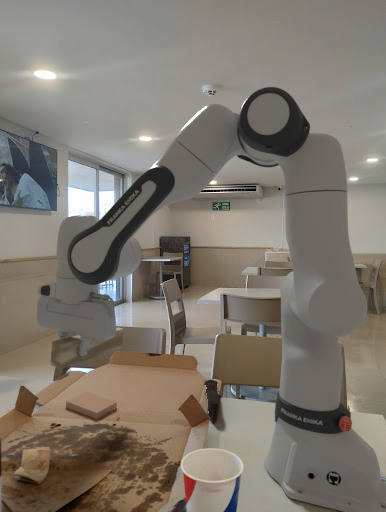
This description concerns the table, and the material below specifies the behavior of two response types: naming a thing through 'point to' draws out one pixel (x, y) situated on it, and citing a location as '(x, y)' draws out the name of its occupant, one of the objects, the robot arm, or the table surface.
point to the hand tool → (212, 399)
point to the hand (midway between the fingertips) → (74, 353)
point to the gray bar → (66, 347)
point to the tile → (91, 405)
